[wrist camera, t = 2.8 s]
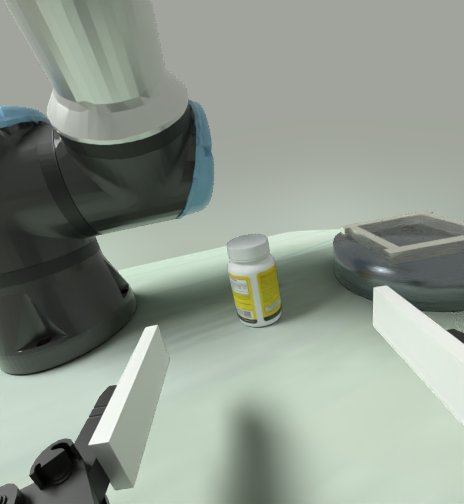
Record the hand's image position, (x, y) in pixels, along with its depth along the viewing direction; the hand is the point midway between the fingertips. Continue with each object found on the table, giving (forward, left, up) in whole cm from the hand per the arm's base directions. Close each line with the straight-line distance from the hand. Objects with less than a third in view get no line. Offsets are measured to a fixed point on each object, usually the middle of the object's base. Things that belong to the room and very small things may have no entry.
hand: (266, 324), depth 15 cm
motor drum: (+9, +20, -6) cm, 23 cm away
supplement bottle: (-5, +8, -6) cm, 12 cm away
